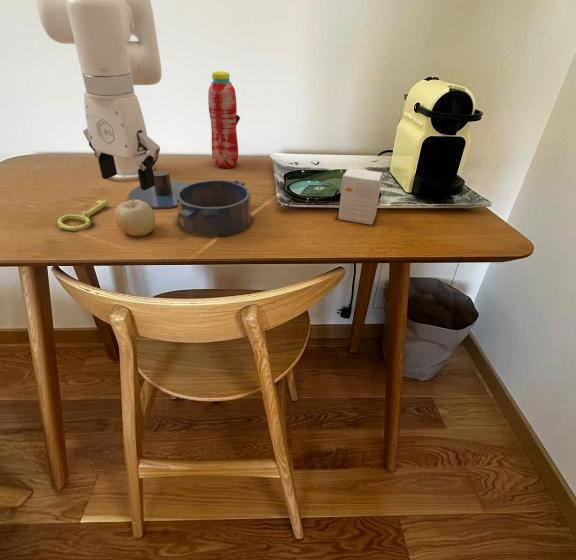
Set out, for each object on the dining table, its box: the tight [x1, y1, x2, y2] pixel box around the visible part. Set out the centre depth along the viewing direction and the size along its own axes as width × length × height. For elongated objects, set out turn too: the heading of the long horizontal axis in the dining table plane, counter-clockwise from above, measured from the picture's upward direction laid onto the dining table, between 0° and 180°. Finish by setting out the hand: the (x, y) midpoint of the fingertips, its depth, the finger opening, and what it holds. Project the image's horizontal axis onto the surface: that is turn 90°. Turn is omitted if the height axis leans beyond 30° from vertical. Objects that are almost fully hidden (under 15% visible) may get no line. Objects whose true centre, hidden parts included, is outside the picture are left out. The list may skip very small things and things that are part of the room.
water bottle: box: [207, 70, 241, 169], centre depth 112 cm, size 12×8×25 cm, turn 167°
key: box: [57, 199, 109, 232], centre depth 86 cm, size 7×12×2 cm, turn 177°
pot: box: [177, 179, 252, 238], centre depth 86 cm, size 15×21×6 cm
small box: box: [337, 167, 383, 226], centre depth 89 cm, size 8×6×10 cm
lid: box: [128, 169, 189, 210], centre depth 96 cm, size 16×16×6 cm
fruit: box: [113, 197, 156, 237], centre depth 80 cm, size 8×7×8 cm
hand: (128, 182), depth 76 cm, fingers open, 9 cm apart
